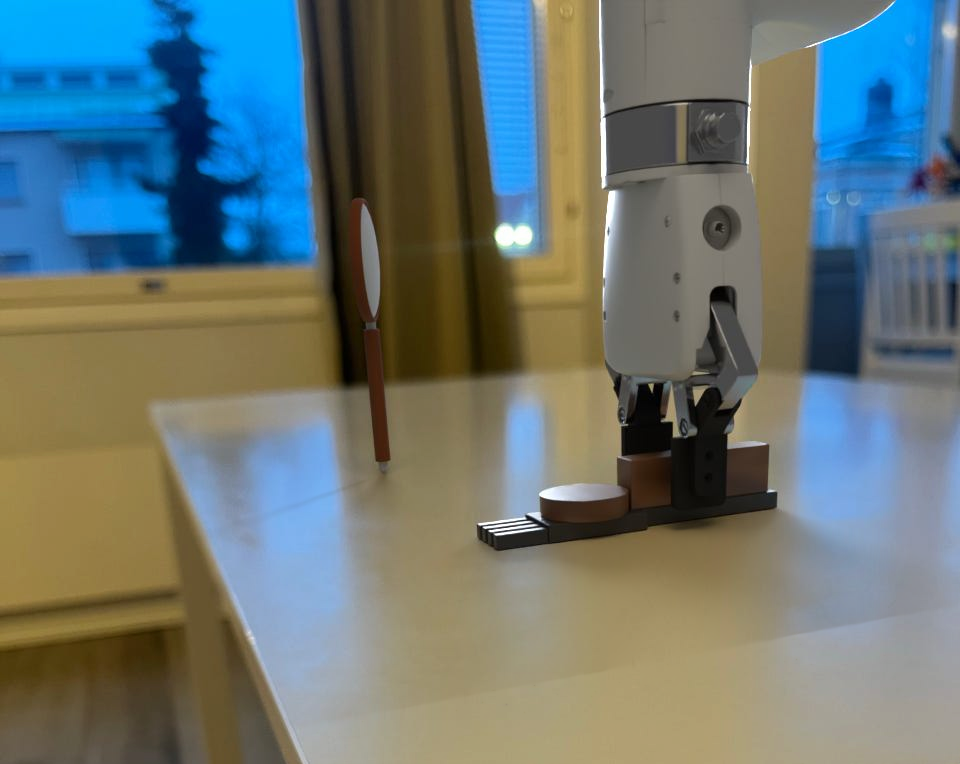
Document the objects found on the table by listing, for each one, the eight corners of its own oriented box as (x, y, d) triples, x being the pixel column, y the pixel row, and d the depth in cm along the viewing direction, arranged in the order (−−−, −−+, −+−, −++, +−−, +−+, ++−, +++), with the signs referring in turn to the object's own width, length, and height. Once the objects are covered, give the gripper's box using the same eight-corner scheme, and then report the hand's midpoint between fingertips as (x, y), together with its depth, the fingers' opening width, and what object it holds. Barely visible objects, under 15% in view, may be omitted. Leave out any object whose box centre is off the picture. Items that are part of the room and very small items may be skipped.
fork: (749, 499, 61) (750, 483, 61) (784, 509, 58) (785, 493, 58) (476, 537, 56) (475, 519, 56) (497, 550, 53) (496, 532, 53)
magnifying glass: (387, 483, 74) (361, 191, 67) (364, 484, 74) (336, 193, 67) (401, 464, 82) (379, 202, 76) (381, 464, 82) (357, 203, 76)
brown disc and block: (735, 482, 62) (737, 437, 61) (784, 496, 57) (786, 447, 56) (527, 510, 58) (525, 462, 57) (561, 527, 53) (559, 475, 52)
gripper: (841, 126, 45) (818, 518, 51) (658, 173, 60) (657, 470, 66) (695, 127, 43) (690, 537, 49) (544, 176, 58) (554, 483, 64)
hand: (671, 495), depth 58 cm, fingers open, 5 cm apart
